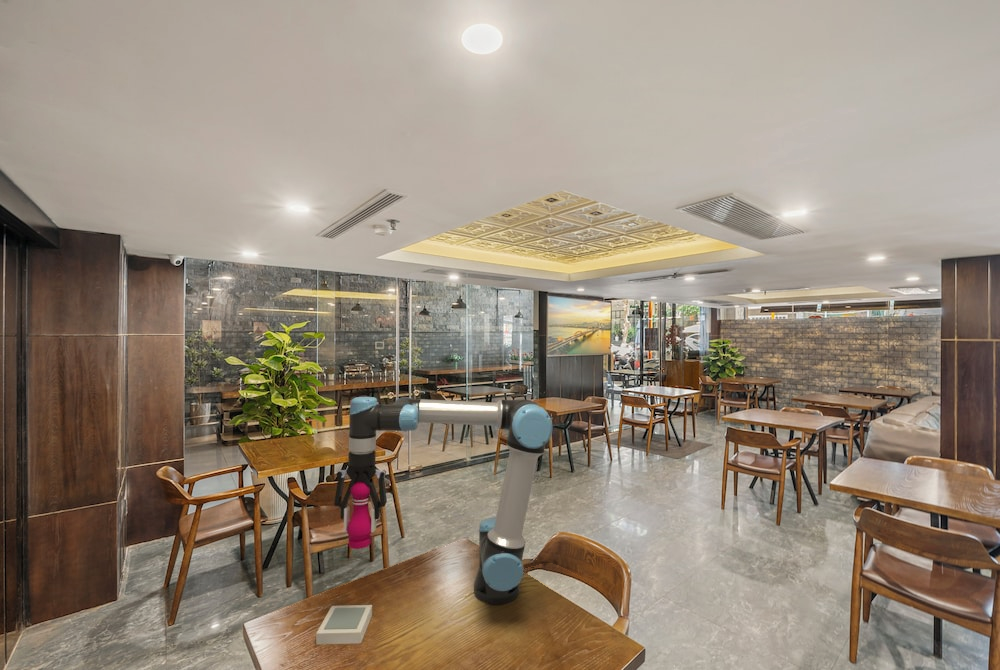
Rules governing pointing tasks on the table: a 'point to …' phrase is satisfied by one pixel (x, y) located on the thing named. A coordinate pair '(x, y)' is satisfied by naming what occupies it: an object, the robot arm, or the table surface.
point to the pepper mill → (360, 517)
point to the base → (344, 625)
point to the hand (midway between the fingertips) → (360, 529)
